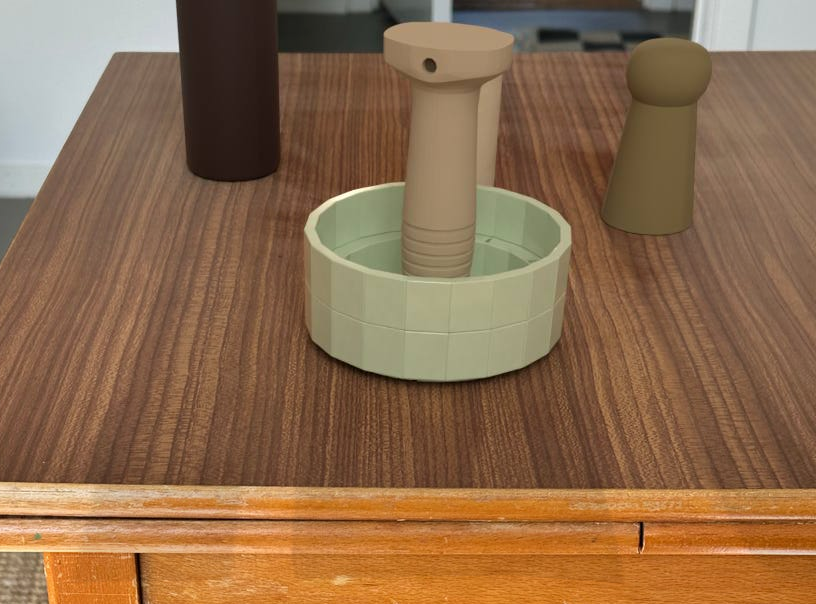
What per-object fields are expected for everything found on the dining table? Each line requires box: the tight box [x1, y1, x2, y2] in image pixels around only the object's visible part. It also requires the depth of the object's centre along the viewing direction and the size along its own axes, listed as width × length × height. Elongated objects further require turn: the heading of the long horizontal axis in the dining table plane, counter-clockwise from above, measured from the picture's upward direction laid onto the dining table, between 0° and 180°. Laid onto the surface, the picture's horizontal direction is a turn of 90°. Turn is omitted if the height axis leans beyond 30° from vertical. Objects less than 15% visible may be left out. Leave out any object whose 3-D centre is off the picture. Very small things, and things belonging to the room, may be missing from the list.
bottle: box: [175, 0, 282, 182], centre depth 89 cm, size 7×7×20 cm
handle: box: [382, 21, 515, 278], centre depth 69 cm, size 5×6×15 cm
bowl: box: [303, 181, 573, 383], centre depth 73 cm, size 14×14×6 cm
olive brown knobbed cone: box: [600, 37, 713, 236], centre depth 85 cm, size 6×6×11 cm
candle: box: [476, 73, 504, 187], centre depth 88 cm, size 6×6×10 cm
